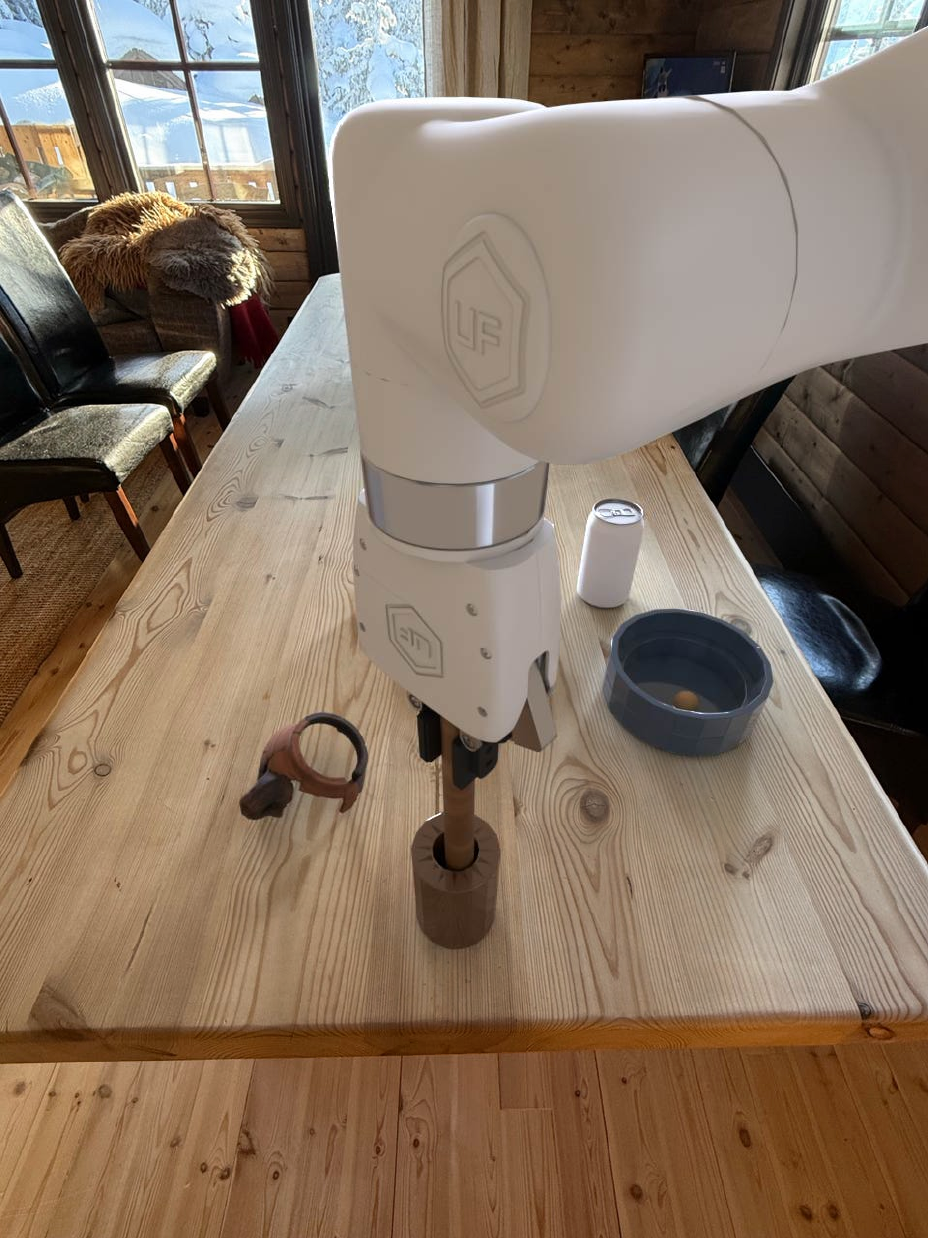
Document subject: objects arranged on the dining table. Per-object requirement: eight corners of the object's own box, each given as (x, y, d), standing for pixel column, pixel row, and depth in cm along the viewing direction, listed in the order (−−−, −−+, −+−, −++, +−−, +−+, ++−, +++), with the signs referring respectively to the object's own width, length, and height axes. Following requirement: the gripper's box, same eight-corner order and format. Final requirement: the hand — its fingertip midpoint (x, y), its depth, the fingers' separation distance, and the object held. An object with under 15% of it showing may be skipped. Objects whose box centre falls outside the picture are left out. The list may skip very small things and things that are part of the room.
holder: (485, 959, 49) (489, 901, 43) (406, 938, 50) (399, 880, 44) (502, 881, 54) (507, 820, 48) (428, 864, 55) (425, 802, 49)
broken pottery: (292, 733, 66) (325, 686, 61) (359, 801, 65) (398, 757, 60) (197, 805, 56) (227, 755, 51) (275, 886, 55) (313, 842, 50)
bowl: (761, 774, 62) (781, 733, 58) (596, 742, 64) (605, 701, 60) (747, 661, 73) (764, 621, 69) (608, 639, 76) (616, 598, 72)
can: (571, 579, 84) (583, 497, 76) (620, 576, 85) (637, 494, 77) (583, 611, 79) (597, 527, 71) (635, 608, 80) (655, 524, 72)
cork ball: (695, 722, 66) (701, 706, 64) (671, 717, 66) (676, 701, 65) (695, 704, 67) (700, 688, 66) (671, 700, 68) (676, 684, 66)
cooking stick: (469, 898, 47) (471, 712, 34) (443, 891, 48) (434, 705, 35) (476, 872, 49) (479, 685, 36) (450, 866, 49) (444, 679, 36)
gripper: (267, 450, 29) (325, 724, 41) (553, 608, 21) (521, 894, 33) (394, 401, 33) (413, 663, 45) (675, 516, 25) (607, 800, 37)
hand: (458, 758), depth 39 cm, fingers closed on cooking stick, 2 cm apart
